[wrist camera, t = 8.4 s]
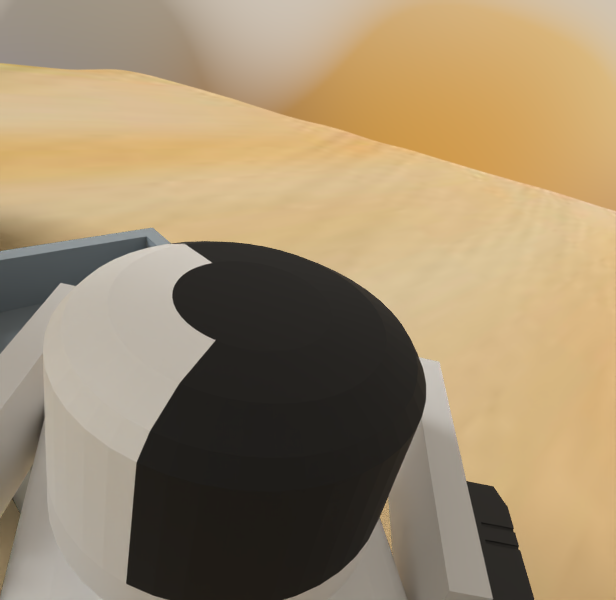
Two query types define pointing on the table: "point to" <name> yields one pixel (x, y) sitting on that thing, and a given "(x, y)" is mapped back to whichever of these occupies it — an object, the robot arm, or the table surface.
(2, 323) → the tote
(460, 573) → the robot arm
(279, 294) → the medicine bottle
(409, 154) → the table surface
